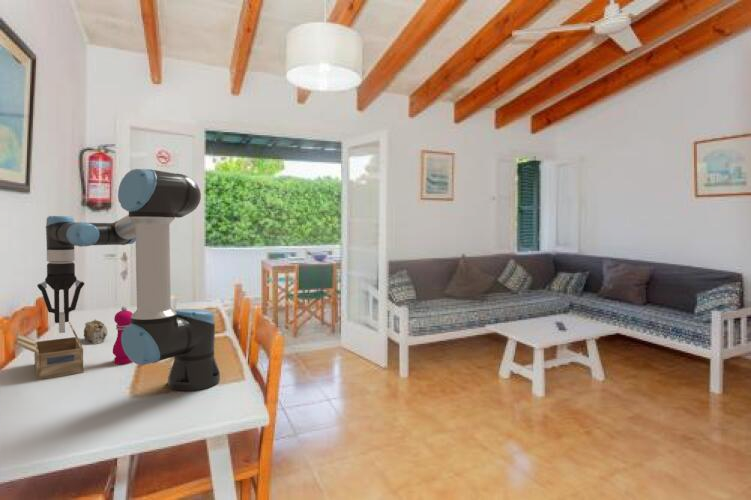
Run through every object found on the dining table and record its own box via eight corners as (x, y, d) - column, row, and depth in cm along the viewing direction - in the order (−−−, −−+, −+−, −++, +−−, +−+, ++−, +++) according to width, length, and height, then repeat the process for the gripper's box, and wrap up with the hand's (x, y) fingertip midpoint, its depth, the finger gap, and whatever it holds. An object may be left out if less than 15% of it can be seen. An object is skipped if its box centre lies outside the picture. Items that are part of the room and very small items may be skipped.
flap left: (18, 343, 131) (17, 345, 131) (36, 351, 134) (36, 353, 134) (17, 332, 144) (16, 333, 144) (34, 340, 147) (33, 341, 147)
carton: (83, 372, 142) (83, 348, 141) (37, 380, 134) (36, 355, 133) (76, 358, 156) (76, 336, 156) (34, 364, 148) (34, 341, 148)
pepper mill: (125, 365, 149) (125, 308, 148) (107, 364, 151) (107, 307, 150) (140, 359, 157) (140, 305, 155) (123, 357, 158) (123, 303, 157)
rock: (112, 339, 178) (105, 315, 178) (94, 344, 173) (87, 320, 173) (103, 342, 186) (97, 320, 186) (86, 347, 181) (79, 325, 181)
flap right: (80, 346, 142) (81, 345, 142) (73, 331, 140) (74, 331, 140) (74, 335, 154) (76, 335, 154) (68, 322, 153) (69, 321, 153)
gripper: (82, 260, 151) (83, 327, 152) (35, 262, 142) (36, 332, 144) (85, 262, 145) (86, 331, 146) (36, 263, 137) (37, 337, 138)
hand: (61, 332), depth 145 cm, fingers closed
